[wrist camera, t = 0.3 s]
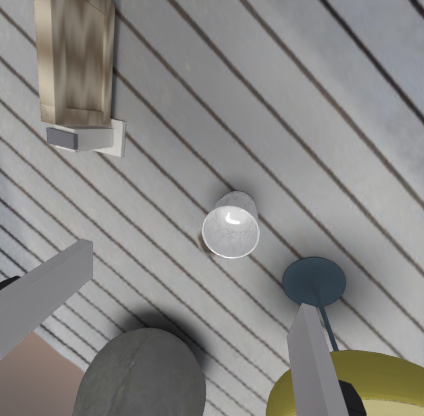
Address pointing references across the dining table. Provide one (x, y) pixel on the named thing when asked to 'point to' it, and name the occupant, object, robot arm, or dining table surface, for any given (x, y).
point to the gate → (75, 60)
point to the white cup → (232, 226)
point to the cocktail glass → (348, 352)
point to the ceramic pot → (142, 378)
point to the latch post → (90, 137)
